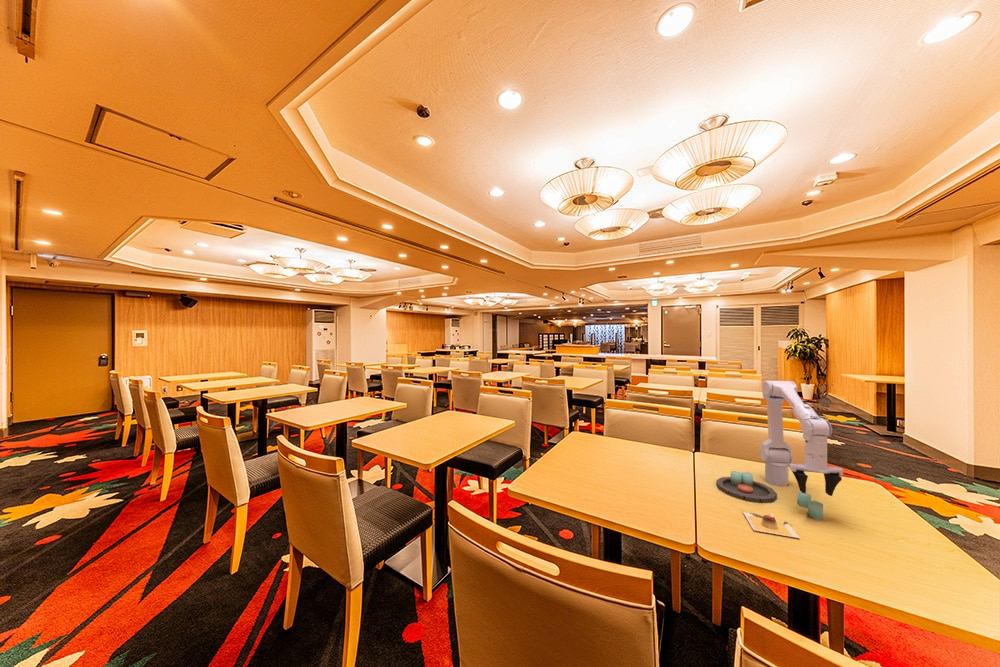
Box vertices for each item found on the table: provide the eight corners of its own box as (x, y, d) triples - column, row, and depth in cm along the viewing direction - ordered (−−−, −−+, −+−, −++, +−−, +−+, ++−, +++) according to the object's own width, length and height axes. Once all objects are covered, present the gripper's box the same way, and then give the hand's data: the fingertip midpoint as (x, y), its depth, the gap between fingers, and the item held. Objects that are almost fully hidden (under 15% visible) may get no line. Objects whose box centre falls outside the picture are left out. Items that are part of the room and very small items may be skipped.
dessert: (753, 533, 110) (753, 518, 110) (742, 514, 121) (742, 501, 121) (800, 541, 106) (800, 526, 106) (784, 521, 117) (784, 507, 117)
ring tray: (727, 478, 149) (727, 473, 149) (782, 495, 134) (782, 489, 134) (708, 491, 138) (708, 485, 138) (766, 511, 123) (766, 504, 123)
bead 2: (798, 504, 127) (798, 490, 127) (812, 508, 124) (812, 494, 124) (795, 507, 125) (795, 493, 125) (809, 511, 122) (809, 497, 122)
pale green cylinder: (743, 483, 142) (743, 471, 142) (754, 487, 139) (754, 474, 139) (740, 486, 140) (740, 474, 140) (751, 489, 137) (751, 477, 137)
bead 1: (732, 482, 144) (732, 470, 144) (743, 485, 140) (743, 473, 140) (729, 484, 141) (729, 472, 141) (739, 488, 138) (739, 475, 138)
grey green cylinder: (809, 513, 121) (809, 499, 121) (824, 517, 118) (824, 503, 118) (806, 516, 119) (806, 502, 119) (821, 521, 116) (821, 506, 116)
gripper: (798, 456, 116) (798, 496, 116) (850, 460, 113) (849, 501, 113) (786, 449, 123) (786, 487, 123) (834, 452, 120) (834, 491, 120)
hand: (815, 493), depth 118 cm, fingers open, 7 cm apart
